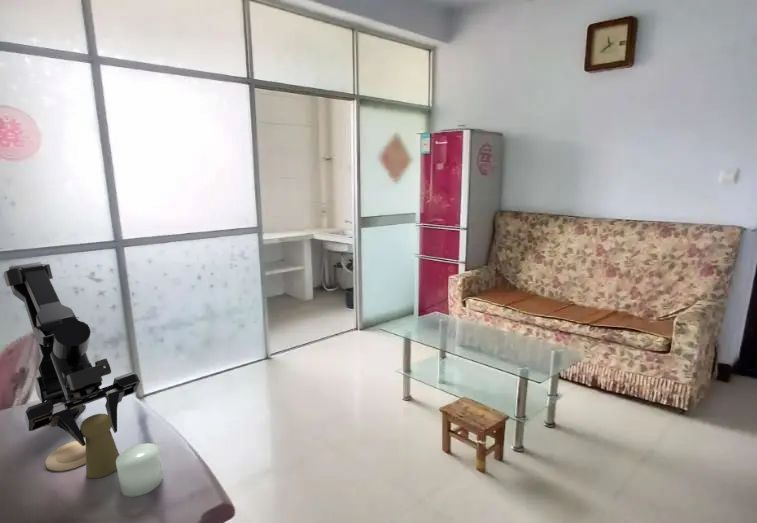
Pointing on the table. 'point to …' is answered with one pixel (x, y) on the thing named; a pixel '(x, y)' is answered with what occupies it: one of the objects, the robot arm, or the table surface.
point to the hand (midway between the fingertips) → (100, 438)
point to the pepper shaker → (99, 446)
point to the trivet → (67, 457)
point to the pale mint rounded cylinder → (139, 469)
